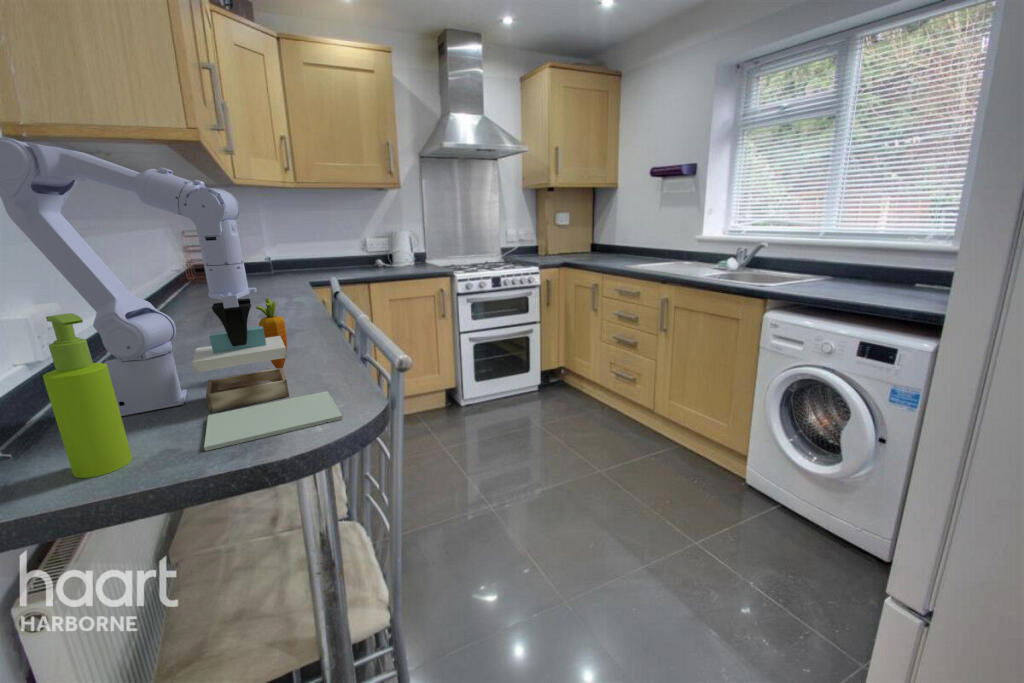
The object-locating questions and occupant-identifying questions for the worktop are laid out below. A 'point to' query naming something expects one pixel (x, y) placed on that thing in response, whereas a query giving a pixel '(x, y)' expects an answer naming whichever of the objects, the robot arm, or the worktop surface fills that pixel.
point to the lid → (238, 351)
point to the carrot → (273, 327)
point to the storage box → (246, 389)
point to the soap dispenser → (84, 404)
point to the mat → (269, 419)
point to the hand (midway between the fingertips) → (239, 343)
